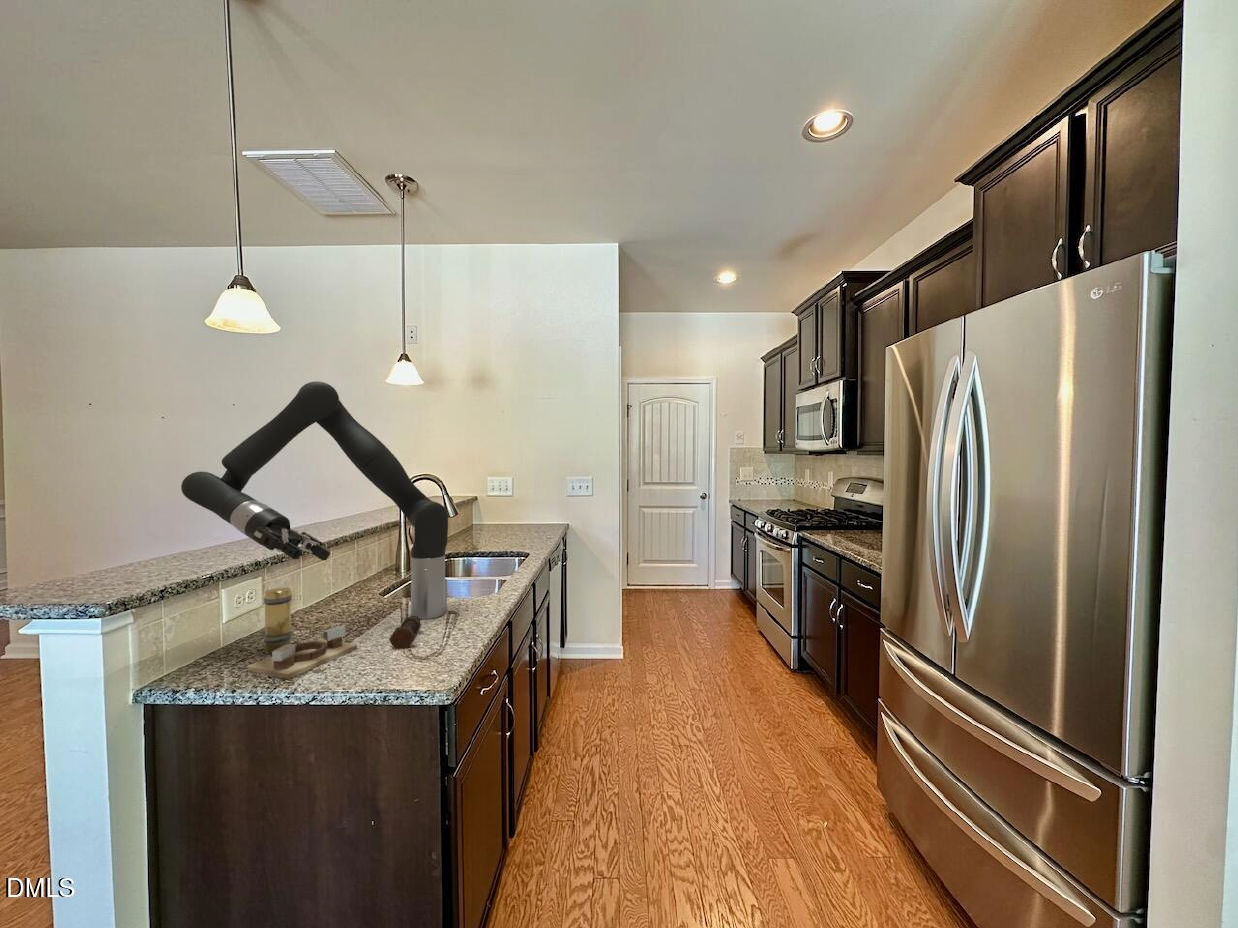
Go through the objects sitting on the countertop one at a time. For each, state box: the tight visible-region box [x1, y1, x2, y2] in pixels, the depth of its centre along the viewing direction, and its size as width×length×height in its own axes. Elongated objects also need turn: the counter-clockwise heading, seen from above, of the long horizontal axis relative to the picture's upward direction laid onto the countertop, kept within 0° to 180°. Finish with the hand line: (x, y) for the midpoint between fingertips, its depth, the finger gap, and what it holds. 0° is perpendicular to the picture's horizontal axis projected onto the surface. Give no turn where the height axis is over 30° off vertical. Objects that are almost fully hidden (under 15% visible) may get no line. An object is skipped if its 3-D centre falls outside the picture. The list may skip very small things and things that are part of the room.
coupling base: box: [246, 637, 358, 680], centre depth 109 cm, size 17×12×3 cm
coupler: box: [263, 587, 293, 654], centre depth 114 cm, size 5×5×14 cm
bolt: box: [389, 615, 422, 650], centre depth 123 cm, size 6×5×15 cm
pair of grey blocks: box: [271, 625, 346, 661], centre depth 108 cm, size 17×3×2 cm, turn 161°
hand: (314, 556), depth 107 cm, fingers open, 8 cm apart
